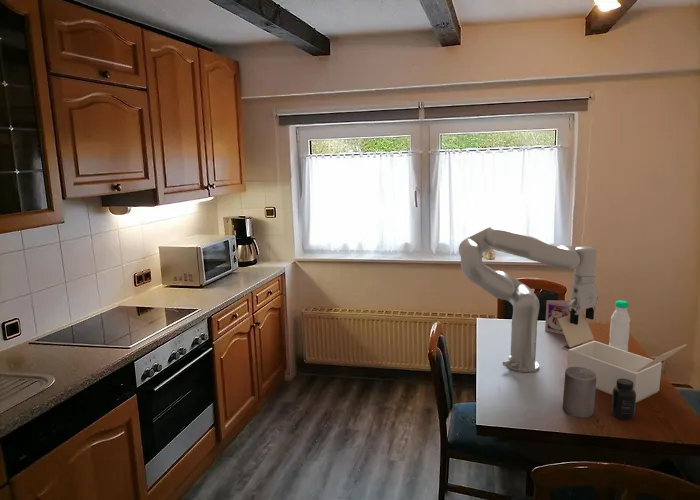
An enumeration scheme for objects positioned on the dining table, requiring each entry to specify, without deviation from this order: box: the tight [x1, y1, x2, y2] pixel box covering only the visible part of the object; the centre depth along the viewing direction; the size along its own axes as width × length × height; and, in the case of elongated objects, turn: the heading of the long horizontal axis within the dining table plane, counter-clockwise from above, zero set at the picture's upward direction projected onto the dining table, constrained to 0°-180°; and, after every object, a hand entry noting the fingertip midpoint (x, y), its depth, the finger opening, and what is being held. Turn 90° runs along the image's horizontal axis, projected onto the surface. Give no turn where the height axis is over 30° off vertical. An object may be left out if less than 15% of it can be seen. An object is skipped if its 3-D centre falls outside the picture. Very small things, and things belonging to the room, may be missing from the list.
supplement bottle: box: [610, 378, 637, 421], centre depth 169 cm, size 7×7×12 cm
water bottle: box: [608, 299, 631, 352], centre depth 210 cm, size 7×7×25 cm
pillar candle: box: [562, 367, 597, 419], centre depth 172 cm, size 10×10×15 cm
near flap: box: [637, 343, 688, 372], centre depth 175 cm, size 15×12×1 cm
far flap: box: [558, 310, 595, 348], centre depth 202 cm, size 15×12×1 cm
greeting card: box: [544, 299, 571, 335], centre depth 244 cm, size 11×7×15 cm, turn 50°
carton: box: [566, 340, 663, 404], centre depth 191 cm, size 16×26×11 cm, turn 32°
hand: (581, 321), depth 202 cm, fingers open, 9 cm apart
